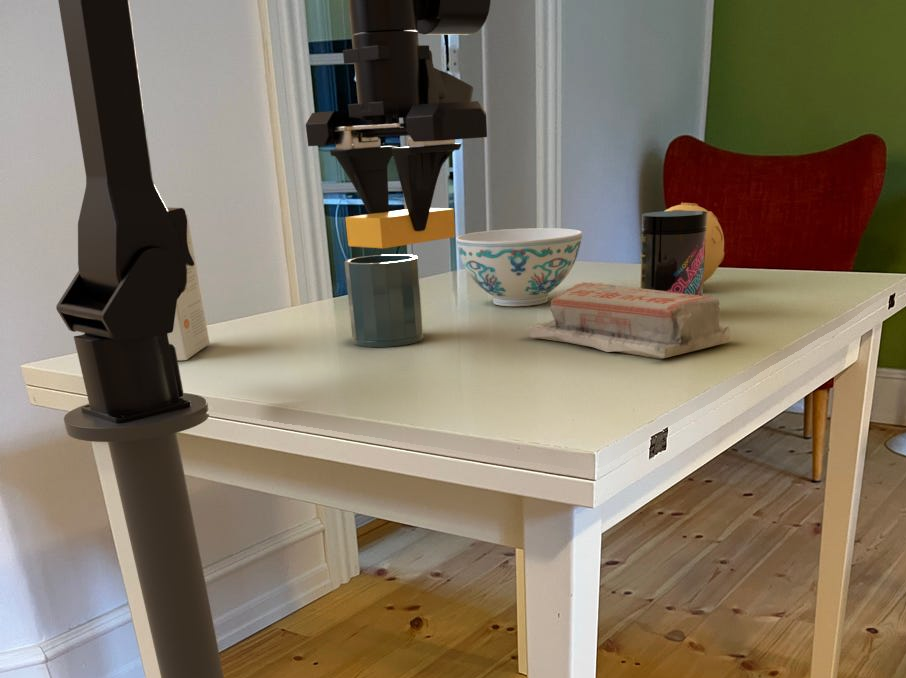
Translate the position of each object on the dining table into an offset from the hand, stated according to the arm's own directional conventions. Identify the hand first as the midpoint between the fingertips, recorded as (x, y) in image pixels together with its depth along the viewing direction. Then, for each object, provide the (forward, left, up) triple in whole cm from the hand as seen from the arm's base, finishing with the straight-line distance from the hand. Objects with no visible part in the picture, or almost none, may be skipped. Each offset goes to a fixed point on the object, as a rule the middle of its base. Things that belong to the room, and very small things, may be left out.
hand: (401, 230), depth 92 cm
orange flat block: (0, 0, -1) cm, 1 cm away
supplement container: (+28, -11, -11) cm, 32 cm away
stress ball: (+45, -1, -11) cm, 46 cm away
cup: (+3, +7, -11) cm, 13 cm away
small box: (-14, +22, -11) cm, 28 cm away
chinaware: (+28, +11, -11) cm, 32 cm away
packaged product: (+15, -15, -11) cm, 24 cm away
